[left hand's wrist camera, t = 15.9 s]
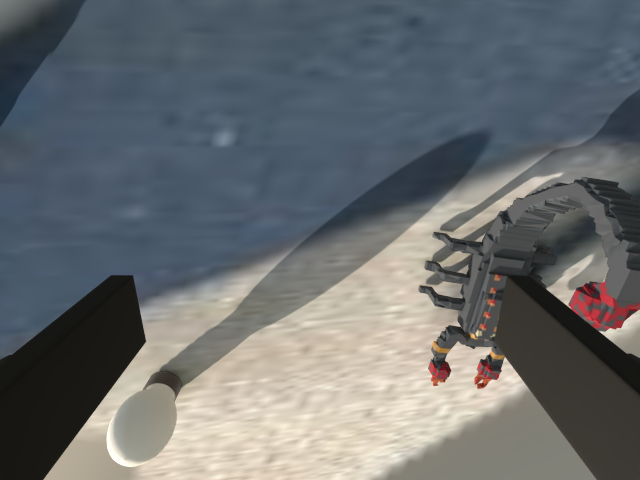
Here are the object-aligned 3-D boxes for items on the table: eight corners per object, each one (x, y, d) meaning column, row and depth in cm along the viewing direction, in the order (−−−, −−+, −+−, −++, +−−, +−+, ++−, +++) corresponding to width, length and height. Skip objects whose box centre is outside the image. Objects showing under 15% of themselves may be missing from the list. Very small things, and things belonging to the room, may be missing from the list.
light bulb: (131, 386, 47) (79, 464, 37) (156, 352, 45) (108, 424, 35) (176, 410, 49) (138, 492, 38) (202, 378, 47) (169, 455, 36)
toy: (580, 167, 37) (801, 218, 20) (500, 373, 47) (606, 529, 29) (455, 149, 37) (574, 185, 20) (399, 361, 46) (447, 513, 29)
